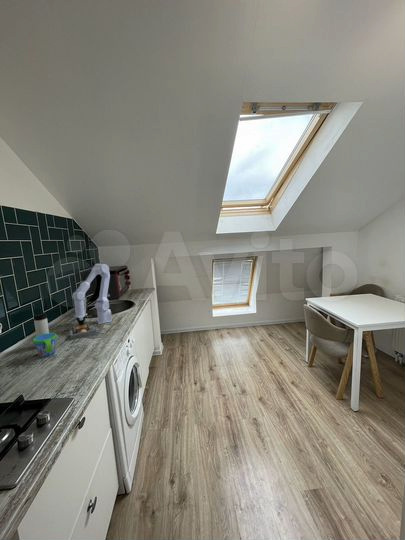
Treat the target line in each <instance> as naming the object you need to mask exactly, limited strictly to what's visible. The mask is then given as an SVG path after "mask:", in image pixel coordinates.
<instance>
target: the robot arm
mask: <svg viewBox="0 0 405 540" xmlns="http://www.w3.org/2000/svg"><path fill="white" fill-rule="evenodd" d="M97 275H100V277H101V281H100V289H99V295H98V298H97V299H96V301H95V304H94V308H95V309H96V314H97V320H96V322H97V324H98V325H101V324H105V323H110V322H113V320H112V318H113V317H112V311H111V309H110V304H109V303H110V301H109V299H108V293H109V287H110V286H109V285H110V279H111V274H110V266H109V265H107V264H105V263H103V264H102V263H95V264H94V266H93V267H92V268H91V271H90V273H89V274H88V275H87V277H86V279H85V281H82V282H81V283H80V284H79V286H78V287H77V289H75V291H74V292H73V293H72V296H71V298H72V299H73V302H74V311H75V314H74V315H73V317H74V318H75V320H76V321H77V323H78V326H80V325H85V321H86V311H85V302H84V301H85V300H84V299H85V297H86V293H87V291H88V290H89V289H90V287H91V283H92V281H93V280H94V279H95V278H96V277H97Z"/></svg>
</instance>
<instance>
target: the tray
mask: <svg viewBox="0 0 405 540" xmlns="http://www.w3.org/2000/svg"><path fill="white" fill-rule="evenodd" d="M69 332H70V333H69V334H70V340H71V341H74V340H79V339H83V338H87V337H92V336H94V335H95V336H96V335H97V329H96V327H95V325H92V329H91V330H88V331H87V332H82V333H78V332H76V333H74V332H73V330H69Z"/></svg>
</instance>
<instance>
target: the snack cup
mask: <svg viewBox="0 0 405 540" xmlns="http://www.w3.org/2000/svg"><path fill="white" fill-rule="evenodd" d="M57 337H58V335H57V333H55V332H49V333H47V334H43V335H40V336H37V337H36V336H35V337H34V338H33V339H32V342H33V344H34V346H35V349H36V352H37V355H38V356H39V357H40V358H45V357H50V356H52V355H54V354H55V353H56V347H57V344H56V343H57Z"/></svg>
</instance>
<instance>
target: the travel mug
mask: <svg viewBox="0 0 405 540" xmlns="http://www.w3.org/2000/svg"><path fill="white" fill-rule="evenodd" d="M33 322H34V328H35V337H37V336H40V335H43V334H47V333H50V330H49V322H48V315H47V312H41V313H37V314H35V315H33Z"/></svg>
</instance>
